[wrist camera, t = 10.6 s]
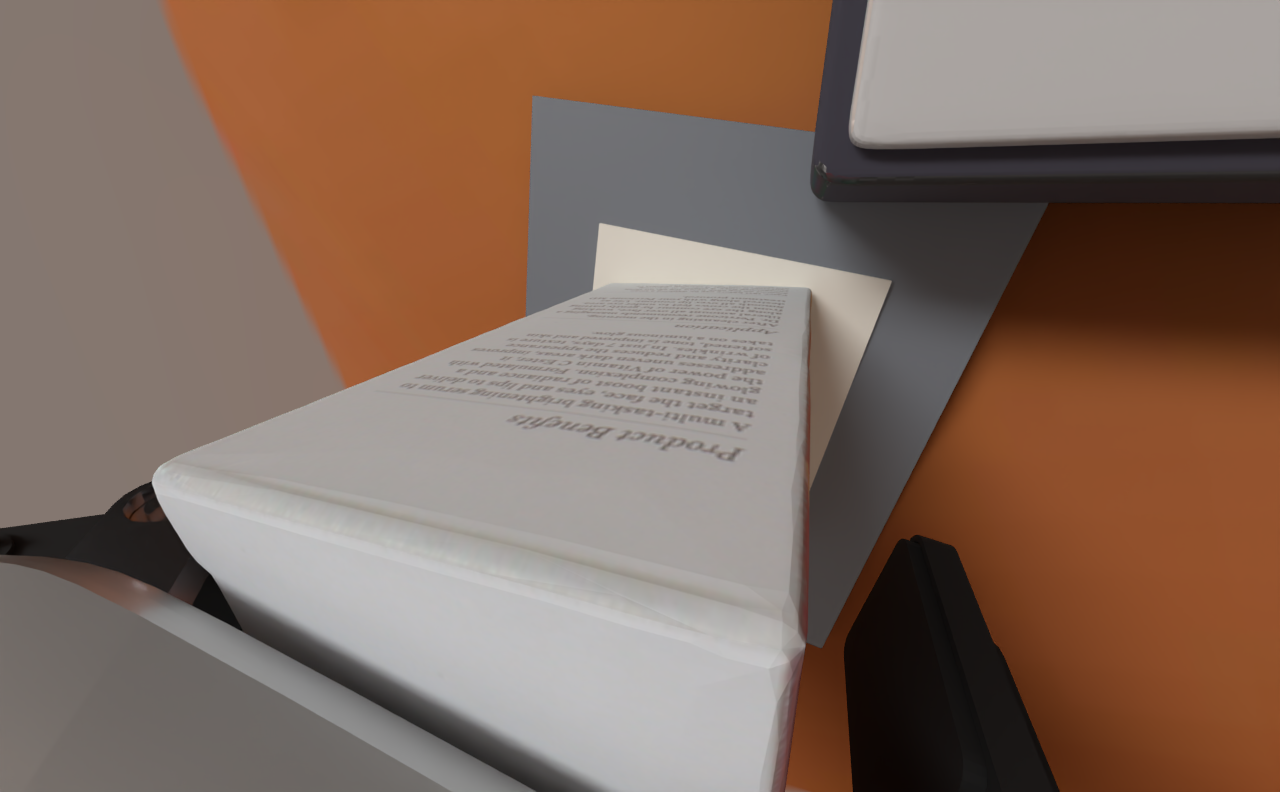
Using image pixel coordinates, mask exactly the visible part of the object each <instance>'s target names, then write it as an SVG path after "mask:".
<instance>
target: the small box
mask: <svg viewBox="0 0 1280 792" xmlns="http://www.w3.org/2000/svg"><path fill="white" fill-rule="evenodd" d="M811 307H812V291H811V290H810V289H809V288H806V287H782V286H755V285H707V284H659V283H610V284H607V285H605V286H603V287H601V288H598V289H596V290H593V291H591V292H588V293H585V294H582V295H580V296H578V297H575V298H573V299H570V300H568V301H565V302H563V303H560V304H557V305H555V306H552V307H550V308H548V309H545V310H542V311H540V312H537V313H535V314H532V315H529V316H527V317H525V318H522V319H519V320H516V321H514V322H511V323H509V324H507V325H505V326H502V327H500V328H497V329H494V330H492V331H489V332H487V333H484V334H482V335H479V336H477V337H475V338H472V339H470V340H467V341H465V342H462V343H459V344H457V345H454V346H452V347H450V348H447V349H445V350H442V351H440V352H438V353H435V354H433V355H430V356H428V357H425V358H423V359H420V360H418V361H416V362H413V363H410V364H408V365H405V366H402V367H400V368H397V369H395V370H392V371H390V372H387V373H385V374H382V375H380V376H378V377H375V378H373V379H370V380H368V381H365V382H363V383H360V384H358V385H355V386H353V387H350V388H348V389H345V390H343V391H340V392H338V393H335V394H332V395H330V396H328V397H325V398H323V399H320V400H318V401H315V402H313V403H311V404H308V405H306V406H303V407H301V408H298V409H296V410H293V411H290V412H288V413H285V414H283V415H280V416H277V417H275V418H273V419H270V420H267V421H265V422H263V423H260V424H257V425H255V426H252V427H250V428H248V429H245V430H243V431H240V432H238V433H235V434H233V435H230V436H228V437H225V438H223V439H220V440H217V441H215V442H212V443H210V444H207V445H204V446H202V447H199V448H197V449H194V450H191V451H189V452H186V453H184V454H181V455H179V456H177V457H175V458H174V459H172V460H170V461H168V462H166V463H164V464H163V465H161V466H160V467H159V468H158V469H157V471H156V472H155V473H154V475H153V480H152V485H153V488H154V491H155V494H156V496H157V499H158V501H159V503H160V505H161V507H162V509H163V511H164V513H165V514H166V516H167V518H168V519H169V521H170V523H171V524H172V526H173V527H174V529H175V531H176V532H177V534H178V535H179V537H180V539H181V540H182V542H183V544H184V545H185V547H186V548H187V550H188V551H189V552H190V554H191V555H192V556H193V558H194V559H195V560H196V561H197V562H198V563H199V564H200V565H201V566H202V567H203V568H204V569H206V570H207V571H208V572H209V573H210V574H211V575H212V576H213V578H214V580H215V581H216V583H217V584H218V586H219V588H220V590H221V591H222V593H223V595H224V597H225V599H226V600H227V602H228V604H229V606H230V608H231V609H232V611H233V613H234V615H235V617H236V619H237V620H238V622H239V624H240V626H241V628H242V629H243V631H244V633H246V634H247V635H249V636H251V637H253V638H255V639H257V640H259V641H260V642H262V643H264V644H266V645H268V646H270V647H272V648H273V649H275V650H277V651H279V652H281V653H283V654H285V655H286V656H288V657H290V658H292V659H294V660H296V661H298V662H299V663H301V664H303V665H305V666H307V667H309V668H311V669H313V670H314V671H316V672H318V673H320V674H322V675H324V676H326V677H327V678H329V679H331V680H333V681H335V682H337V683H339V684H340V685H342V686H344V687H346V688H348V689H350V690H352V691H353V692H355V693H357V694H359V695H361V696H363V697H364V698H366V699H368V700H370V701H372V702H374V703H375V704H377V705H379V706H381V707H383V708H385V709H386V710H388V711H390V712H392V713H394V714H396V715H397V716H399V717H401V718H403V719H405V720H407V721H408V722H410V723H412V724H414V725H416V726H418V727H419V728H421V729H423V730H425V731H427V732H429V733H430V734H432V735H434V736H436V737H438V738H440V739H441V740H443V741H445V742H447V743H449V744H451V745H452V746H454V747H456V748H458V749H460V750H462V751H463V752H465V753H467V754H469V755H471V756H472V757H474V758H476V759H478V760H480V761H482V762H483V763H485V764H487V765H489V766H491V767H493V768H494V769H496V770H498V771H500V772H502V773H504V774H505V775H507V776H509V777H511V778H513V779H515V780H516V781H518V782H520V783H522V784H524V785H526V786H527V787H529V788H531V789H533V790H535V791H536V792H785V787H786V780H787V773H788V766H789V758H790V751H791V744H792V737H793V729H794V722H795V715H796V708H797V701H798V694H799V686H800V679H801V672H802V665H803V659H804V653H805V646H806V640H807V633H808V588H809V475H810V415H811V401H810V371H809V366H810V349H811Z"/></svg>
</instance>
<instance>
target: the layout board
mask: <svg viewBox="0 0 1280 792" xmlns="http://www.w3.org/2000/svg"><path fill="white" fill-rule="evenodd" d="M814 137H815V132H810V131H802V130H795V129H787V128H779V127H771V126H764V125H756V124H748V123H740V122H733V121H725V120H717V119H709V118H702V117H694V116H686V115H679V114H671V113H663V112H655V111H648V110H640V109H632V108H624V107H617V106H609V105H601V104H593V103H586V102H578V101H570V100H562V99H555V98H547V97H539V96H533V101H532V133H531V165H530V198H529V230H528V263H527V295H526V317H527V316H529V315H532V314H535V313H537V312H540V311H542V310H545V309H548V308H550V307H552V306H555V305H557V304H560V303H563V302H565V301H568V300H570V299H573V298H575V297H578V296H580V295H582V294H585V293H588V292H591V291H593V290H596V289H598V288H601V287H603V286H605V285H607V284H610V283H659V284H707V285H755V286H782V287H806V288H809V289H810V290H811V291H812V307H811V349H810V366H809V371H810V401H811V415H810V475H809V588H808V633H807V640H806V643H809V644H811V645H814V646H817V647H819V648H822V647H823V645H824V643H825V641H826V639H827V637H828V635H829V633H830V631H831V629H832V628H833V626H834V624H835V622H836V620H837V618H838V616H839V614H840V612H841V610H842V608H843V606H844V604H845V602H846V600H847V598H848V596H849V594H850V592H851V590H852V588H853V586H854V584H855V582H856V580H857V578H858V576H859V575H860V573H861V571H862V569H863V567H864V565H865V563H866V561H867V559H868V557H869V555H870V553H871V551H872V549H873V547H874V545H875V543H876V541H877V539H878V537H879V535H880V533H881V531H882V529H883V527H884V525H885V523H886V522H887V520H888V518H889V516H890V514H891V512H892V510H893V508H894V506H895V504H896V502H897V500H898V498H899V496H900V494H901V492H902V490H903V488H904V486H905V484H906V482H907V480H908V478H909V476H910V474H911V472H912V471H913V469H914V467H915V465H916V463H917V461H918V459H919V457H920V455H921V453H922V451H923V449H924V447H925V445H926V443H927V441H928V439H929V437H930V435H931V433H932V431H933V429H934V427H935V425H936V423H937V421H938V419H939V418H940V416H941V414H942V412H943V410H944V408H945V406H946V404H947V402H948V400H949V398H950V396H951V394H952V392H953V390H954V388H955V386H956V384H957V382H958V380H959V378H960V376H961V374H962V372H963V370H964V368H965V366H966V365H967V363H968V361H969V359H970V357H971V355H972V353H973V351H974V349H975V347H976V345H977V343H978V341H979V339H980V337H981V335H982V333H983V331H984V329H985V327H986V325H987V323H988V321H989V319H990V317H991V315H992V314H993V312H994V310H995V308H996V306H997V304H998V302H999V300H1000V298H1001V296H1002V294H1003V292H1004V290H1005V288H1006V286H1007V284H1008V282H1009V280H1010V278H1011V276H1012V274H1013V272H1014V270H1015V268H1016V266H1017V264H1018V262H1019V261H1020V259H1021V257H1022V255H1023V253H1024V251H1025V249H1026V247H1027V245H1028V243H1029V241H1030V239H1031V237H1032V235H1033V233H1034V231H1035V229H1036V227H1037V225H1038V223H1039V221H1040V219H1041V217H1042V215H1043V213H1044V211H1045V209H1046V208H1047V206H1048V204H1049V203H941V202H827V201H822V200H820V199H818V198H817V197H816V196H815V195H814V194H813V192H812V190H811V185H810V174H811V163H812V154H813V146H814Z"/></svg>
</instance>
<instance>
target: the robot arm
mask: <svg viewBox="0 0 1280 792" xmlns="http://www.w3.org/2000/svg"><path fill="white" fill-rule="evenodd" d="M844 663H845V678H846V693H847V708H848V724H849V739H850V754H851V769H852V784H853V792H1060V791H1059V789H1058V786H1057V784H1056V781H1055V779H1054V777H1053V774H1052V772H1051V769H1050V767H1049V764H1048V762H1047V760H1046V757H1045V755H1044V752H1043V750H1042V748H1041V745H1040V743H1039V740H1038V738H1037V735H1036V733H1035V731H1034V728H1033V726H1032V723H1031V721H1030V718H1029V716H1028V714H1027V711H1026V709H1025V706H1024V704H1023V701H1022V699H1021V697H1020V694H1019V692H1018V689H1017V687H1016V684H1015V682H1014V680H1013V677H1012V675H1011V672H1010V670H1009V668H1008V665H1007V663H1006V660H1005V658H1004V656H1003V654H1002V652H1001V651H1000V649H999V647H998V646H997V645H996V644H994V643H993V640H992V638H991V635H990V633H989V630H988V628H987V625H986V623H985V620H984V618H983V615H982V613H981V610H980V608H979V605H978V603H977V600H976V598H975V595H974V593H973V591H972V588H971V586H970V583H969V581H968V578H967V576H966V573H965V571H964V568H963V566H962V563H961V561H960V558H959V556H958V553H957V551H956V549H955V548H954V547H953V546H951V545H948V544H945V543H942V542H939V541H935V540H932V539H929V538H926V537H923V536H920V535H915V536H913V537H912V538H911V539H910V541H909V540H906V539H901V540H899V541H898V543H897V544H896V546H895V548H894V550H893V552H892V554H891V555H890V557H889V559H888V561H887V563H886V565H885V567H884V568H883V570H882V572H881V574H880V576H879V578H878V580H877V581H876V583H875V585H874V587H873V589H872V591H871V593H870V594H869V596H868V598H867V600H866V602H865V604H864V606H863V607H862V609H861V611H860V613H859V615H858V617H857V619H856V620H855V622H854V624H853V626H852V628H851V630H850V632H849V633H848V636H847V638H846V642H845V647H844ZM0 792H536V791H535V790H533V789H531V788H529V787H527V786H526V785H524V784H522V783H520V782H518V781H516V780H515V779H513V778H511V777H509V776H507V775H505V774H504V773H502V772H500V771H498V770H496V769H494V768H493V767H491V766H489V765H487V764H485V763H483V762H482V761H480V760H478V759H476V758H474V757H472V756H471V755H469V754H467V753H465V752H463V751H462V750H460V749H458V748H456V747H454V746H452V745H451V744H449V743H447V742H445V741H443V740H441V739H440V738H438V737H436V736H434V735H432V734H430V733H429V732H427V731H425V730H423V729H421V728H419V727H418V726H416V725H414V724H412V723H410V722H408V721H407V720H405V719H403V718H401V717H399V716H397V715H396V714H394V713H392V712H390V711H388V710H386V709H385V708H383V707H381V706H379V705H377V704H375V703H374V702H372V701H370V700H368V699H366V698H364V697H363V696H361V695H359V694H357V693H355V692H353V691H352V690H350V689H348V688H346V687H344V686H342V685H340V684H339V683H337V682H335V681H333V680H331V679H329V678H327V677H326V676H324V675H322V674H320V673H318V672H316V671H314V670H313V669H311V668H309V667H307V666H305V665H303V664H301V663H299V662H298V661H296V660H294V659H292V658H290V657H288V656H286V655H285V654H283V653H281V652H279V651H277V650H275V649H273V648H272V647H270V646H268V645H266V644H264V643H262V642H260V641H259V640H257V639H255V638H253V637H251V636H249V635H247V634H246V633H244V631H243V629H242V628H241V626H240V624H239V622H238V620H237V619H236V617H235V615H234V613H233V611H232V609H231V608H230V606H229V604H228V602H227V600H226V599H225V597H224V595H223V593H222V591H221V590H220V588H219V586H218V584H217V583H216V581H215V580H214V578H213V576H212V575H211V574H210V573H209V572H208V571H207V570H206V569H204V568H203V567H202V566H201V565H200V564H199V563H198V562H197V561H196V560H195V559H194V558H193V556H192V555H191V554H190V552H189V551H188V550H187V548H186V547H185V545H184V544H183V542H182V540H181V539H180V537H179V535H178V534H177V532H176V531H175V529H174V527H173V526H172V524H171V523H170V521H169V519H168V518H167V516H166V514H165V513H164V511H163V509H162V507H161V505H160V503H159V501H158V499H157V496H156V494H155V491H154V488H153V485H152V481H151V482H149V483H146V484H144V485H141V486H139V487H138V488H136V489H134V490H132V491H130V492H128V493H127V494H125V495H124V496H123V497H121V498H120V499H119V500H118V501H117V502H115V503H114V504H113V505H112V506H111V508H110V509H109V510H108V511H107V512H106V513H105V514H103V515H95V516H88V517H81V518H74V519H67V520H59V521H51V522H45V523H37V524H31V525H23V526H16V527H8V528H0Z"/></svg>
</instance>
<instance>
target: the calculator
mask: <svg viewBox="0 0 1280 792" xmlns="http://www.w3.org/2000/svg"><path fill="white" fill-rule="evenodd" d="M810 185H811V190H812V192H813V194H814V195H815V196H816V197H817V198H818V199H820V200H822V201H827V202H941V203H1280V0H833V3H832V10H831V18H830V25H829V33H828V40H827V48H826V55H825V62H824V70H823V77H822V85H821V92H820V100H819V107H818V114H817V122H816V129H815V137H814V146H813V154H812V163H811V174H810Z"/></svg>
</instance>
